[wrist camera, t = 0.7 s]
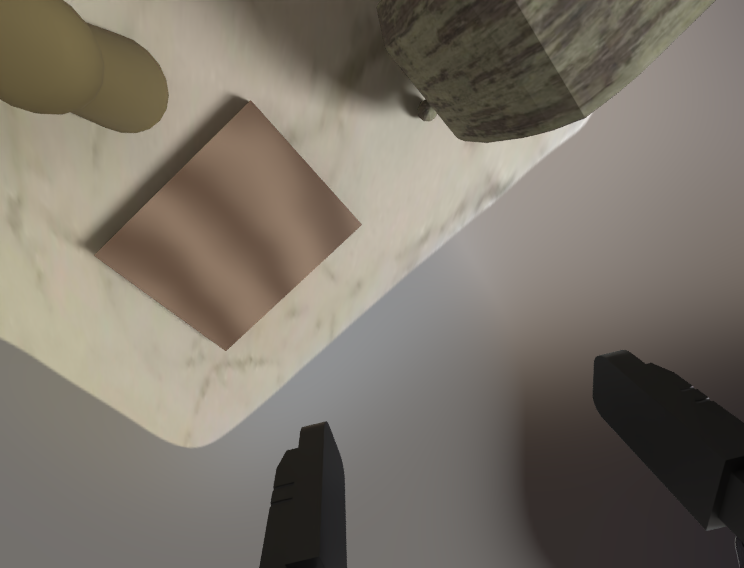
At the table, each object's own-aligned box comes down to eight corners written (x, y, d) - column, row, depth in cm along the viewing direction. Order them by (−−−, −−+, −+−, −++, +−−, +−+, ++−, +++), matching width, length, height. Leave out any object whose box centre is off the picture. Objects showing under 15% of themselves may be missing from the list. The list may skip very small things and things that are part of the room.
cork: (54, 103, 24) (-114, 68, 14) (80, 10, 22) (-84, -103, 12) (152, 149, 26) (69, 148, 16) (181, 66, 25) (110, 8, 15)
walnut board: (228, 342, 32) (225, 351, 31) (103, 250, 27) (93, 255, 26) (358, 221, 31) (361, 224, 30) (252, 102, 26) (250, 100, 25)
